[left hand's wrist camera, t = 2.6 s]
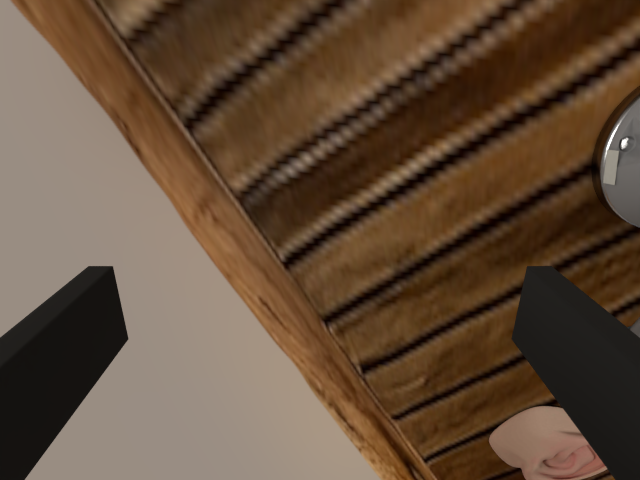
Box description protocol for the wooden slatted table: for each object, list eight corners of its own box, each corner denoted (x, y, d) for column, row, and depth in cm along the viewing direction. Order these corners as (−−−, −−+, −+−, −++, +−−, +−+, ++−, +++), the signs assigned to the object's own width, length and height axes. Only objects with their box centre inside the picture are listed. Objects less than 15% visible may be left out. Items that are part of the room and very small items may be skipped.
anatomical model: (487, 478, 49) (546, 414, 45) (475, 450, 53) (528, 389, 49) (572, 510, 52) (635, 452, 48) (555, 481, 55) (612, 425, 51)
